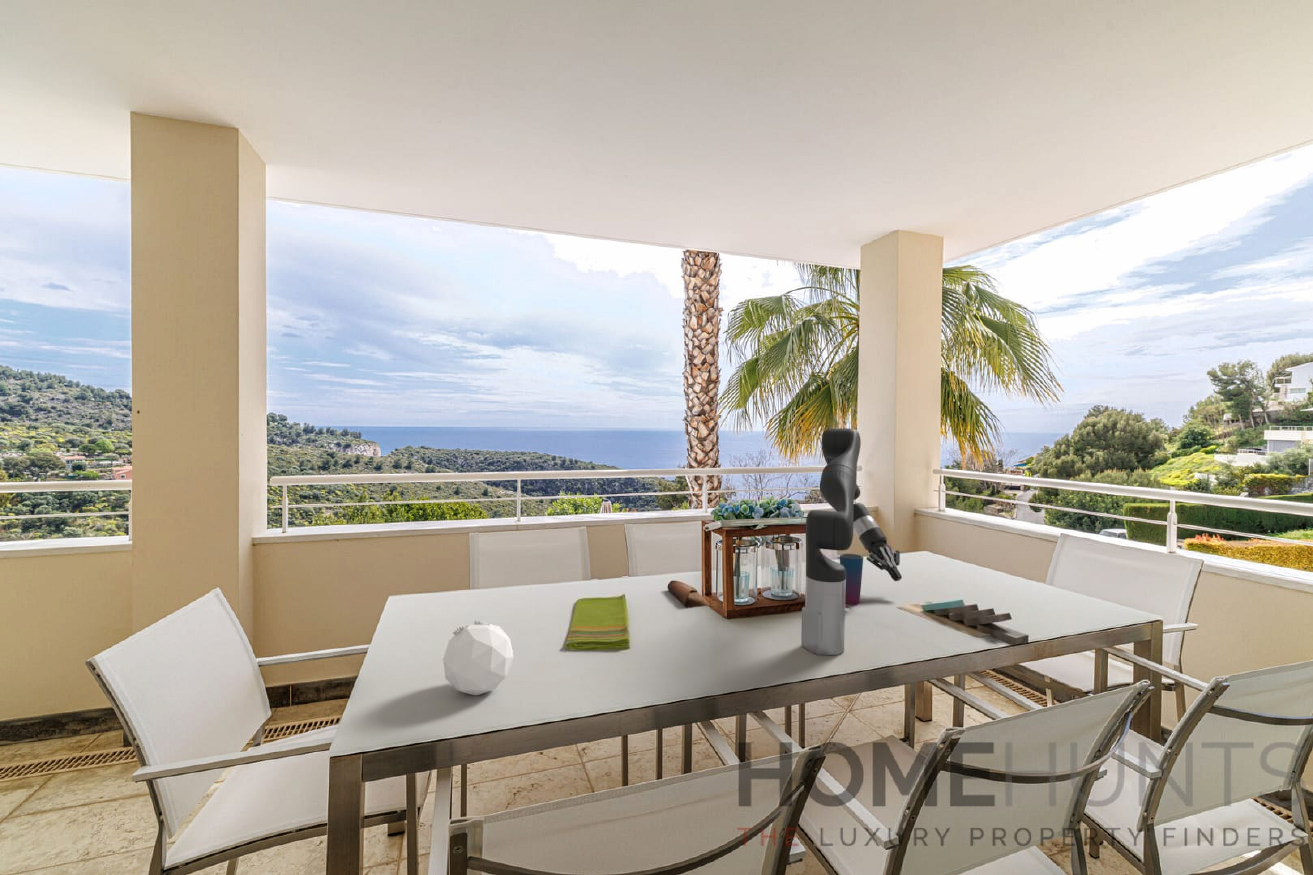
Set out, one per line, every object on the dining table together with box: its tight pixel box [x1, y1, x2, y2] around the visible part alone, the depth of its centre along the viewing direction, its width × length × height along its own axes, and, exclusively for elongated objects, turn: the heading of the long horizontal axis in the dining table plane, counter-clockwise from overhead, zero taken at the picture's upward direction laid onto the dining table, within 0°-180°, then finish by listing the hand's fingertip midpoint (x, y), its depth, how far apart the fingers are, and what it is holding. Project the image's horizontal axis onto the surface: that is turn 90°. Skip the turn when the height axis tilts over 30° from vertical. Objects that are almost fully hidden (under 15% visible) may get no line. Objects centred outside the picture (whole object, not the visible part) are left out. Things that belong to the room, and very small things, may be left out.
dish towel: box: [565, 593, 631, 651], centre depth 148 cm, size 15×36×3 cm, turn 4°
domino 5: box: [977, 622, 1030, 645], centre depth 140 cm, size 5×2×10 cm
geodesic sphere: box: [442, 620, 515, 696], centre depth 109 cm, size 14×14×14 cm
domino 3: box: [949, 608, 996, 621], centre depth 148 cm, size 5×2×10 cm
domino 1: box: [921, 599, 965, 611], centre depth 156 cm, size 5×2×10 cm
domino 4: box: [963, 612, 1012, 626], centre depth 144 cm, size 5×2×10 cm
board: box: [895, 601, 989, 638], centre depth 153 cm, size 14×25×1 cm, turn 25°
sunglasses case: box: [667, 580, 710, 608], centre depth 171 cm, size 18×7×7 cm, turn 17°
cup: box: [839, 553, 864, 608], centre depth 166 cm, size 7×7×15 cm
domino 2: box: [934, 603, 980, 616], centre depth 152 cm, size 5×2×10 cm
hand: (898, 579), depth 170 cm, fingers closed
